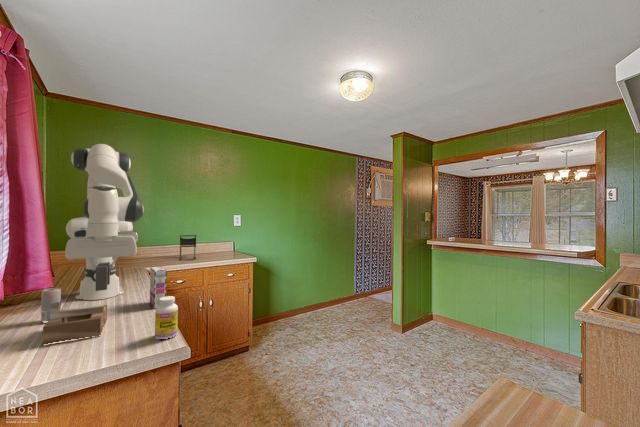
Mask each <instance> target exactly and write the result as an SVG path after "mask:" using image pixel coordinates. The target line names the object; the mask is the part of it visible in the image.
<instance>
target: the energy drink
mask: <svg viewBox="0 0 640 427" xmlns="http://www.w3.org/2000/svg"><path fill="white" fill-rule="evenodd" d="M40 293H41V297H40V300H41V304H40V306H41V307H40V308H41V309H40V314H41V316H40V322H41V321H49V320H50V304H51V303H53V302H60V310H62V290H61V288H60V287H52V288H51V287H50V288H45V289H43V290H41V292H40Z"/></svg>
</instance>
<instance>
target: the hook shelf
mask: <svg viewBox="0 0 640 427" xmlns="http://www.w3.org/2000/svg"><path fill="white" fill-rule="evenodd" d="M106 320H107V321H108V304H100V305H94V306H93V305H92V306H87V307H86V306H84V307H77V308H68V309H61V310H60V302H53V303H51V304H50V320H49V321H48V322H47V323H46V324H44V325H43V326H42V345H43V344H48V343H53V342H59V341H65V340H71V339H79V338H85V337H92V336H99V335H101V336H102V334H101V332H102V333H103V331H104V329H103V327H104V328H105V326H106V324H107V322H106ZM105 323H106V324H105ZM104 325H105V326H104ZM102 330H103V331H102Z"/></svg>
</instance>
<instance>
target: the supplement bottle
mask: <svg viewBox="0 0 640 427" xmlns="http://www.w3.org/2000/svg"><path fill="white" fill-rule="evenodd" d="M175 297H176V296H172V295H168V296H167V295H166V297H162V298H160V299H159V303H160V305H159V306H158V307H157V308H156V309H155V311H154V312H155V315H154V316H155V317H154V318H155V319H154V320H155V322H154V325H155V326H154V337H155V339H156V340H158V339H166V340H169V339H168V338H170V339H173V338H175V337H176V336H177V335H178V326H179V325H178V324H179V323H178V322H179V319H178V317H179V316H178V315H179V306H178V305H177V304H176V303H175V301H176V298H175ZM175 335H176V336H175ZM174 336H175V337H174ZM172 337H173V338H172Z"/></svg>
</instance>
